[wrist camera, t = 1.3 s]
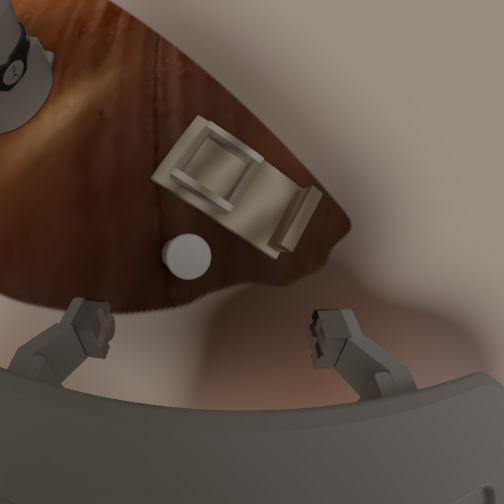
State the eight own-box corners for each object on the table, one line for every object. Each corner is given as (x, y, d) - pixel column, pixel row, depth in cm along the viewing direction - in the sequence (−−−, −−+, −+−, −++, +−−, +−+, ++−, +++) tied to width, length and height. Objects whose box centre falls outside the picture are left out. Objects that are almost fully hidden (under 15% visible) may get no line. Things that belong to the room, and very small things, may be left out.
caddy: (151, 179, 39) (151, 167, 33) (196, 119, 41) (204, 100, 35) (272, 258, 45) (291, 260, 39) (306, 196, 47) (327, 190, 41)
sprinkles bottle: (163, 236, 40) (169, 230, 27) (194, 240, 41) (214, 236, 29) (159, 268, 40) (163, 277, 27) (190, 271, 41) (209, 282, 28)
